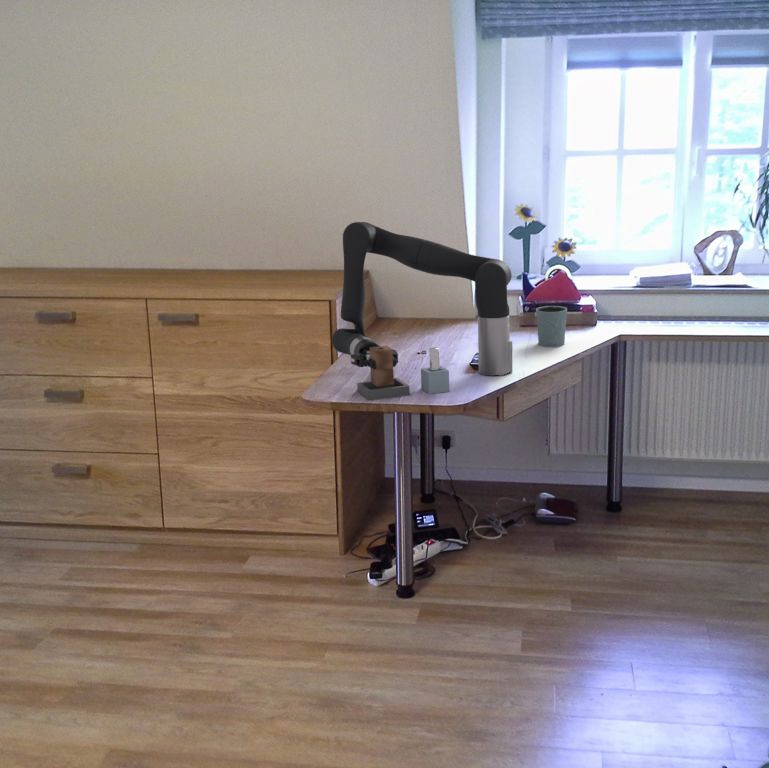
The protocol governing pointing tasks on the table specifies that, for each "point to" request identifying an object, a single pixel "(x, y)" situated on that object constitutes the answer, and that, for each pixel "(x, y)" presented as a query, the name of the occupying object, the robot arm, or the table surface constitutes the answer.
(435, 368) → the cylinder
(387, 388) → the tray
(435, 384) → the square socket block
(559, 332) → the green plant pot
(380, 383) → the walnut block
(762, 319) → the table surface
